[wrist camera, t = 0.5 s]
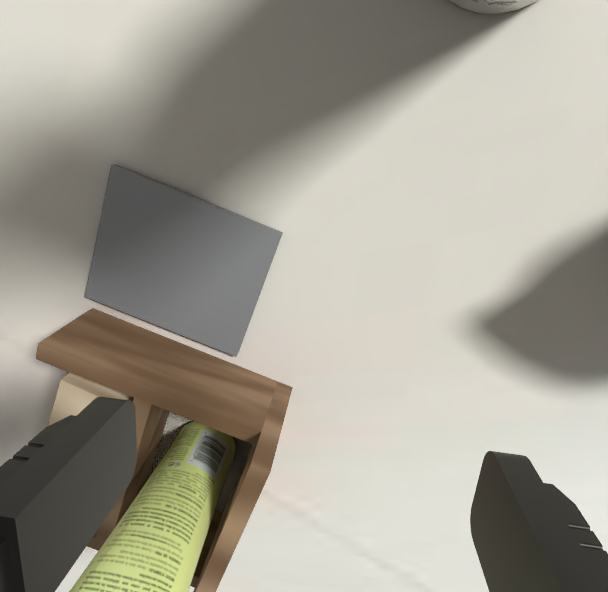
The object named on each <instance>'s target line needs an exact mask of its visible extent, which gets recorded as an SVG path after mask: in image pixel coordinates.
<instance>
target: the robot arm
mask: <svg viewBox="0 0 608 592" xmlns="http://www.w3.org/2000/svg"><path fill="white" fill-rule="evenodd" d="M450 1H451V2H453V3H455V4H456V5H458V6H460V7H462V8H464V9H467V10H471V11H474V12H478V13H493V14H500V13H504V12H509V11H514V10H518V9H521V8H523V7H525V6H528V5H530V4H532V3H534V2H537V1H538V0H450ZM136 462H137V440H136V411H135V405H134V403H133V402H132V401H130V400H123V399H115V398H108V397H101V396H100V397H97V398H95V399H94V400H93V401H92V402H91V403H90V404H89V405H88V406H86V407H85V408H84V409H83V410H82V411H81V412H80V413H79V414H78V415H77V416H74V415H70V416H68V417H66V418H64V419H62V420H60V421H58V422H56V423H54V424H52V425H50V426H48V427H46V428H45V429H44V430H43V431H41V432H40V433H39V434H38V435H37V436H36V437H34V438H33V439H32V440H31V441H30V442H29V444H28V446H24V447H23V448H22V449H21V450H19V451H18V452H17V453H16V454H15V455H14V456H13V459H9V460H8V461H7V462H5V463H4V464H3V465H2V466H1V467H0V592H55V590H56V589H57V588H58V586H59V585H60V583H61V582H62V580H63V579H64V578H65V576H66V575H67V573H68V572H69V570H70V569H71V567H72V566H73V565H74V563H75V562H76V560H77V559H78V557H79V556H80V555H81V553H82V552H83V550H84V549H85V547H86V546H87V544H88V543H89V542H90V540H91V539H92V537H93V536H94V534H95V533H96V531H97V530H98V529H99V527H100V526H101V524H102V523H103V521H104V520H105V519H106V517H107V516H108V514H109V513H110V511H111V510H112V508H113V507H114V506H115V504H116V503H117V501H118V500H119V498H120V497H121V496H122V494H123V493H124V491H125V490H126V488H127V487H128V485H129V484H130V482H131V480H132V477H133V475H134V471H135V468H136ZM470 523H471V533H472V538H473V542H474V545H475V548H476V551H477V554H478V557H479V560H480V563H481V567H482V570H483V573H484V576H485V579H486V582H487V585H488V588H489V592H608V554H607V552H606V551H603V549H602V544H601V543H600V541H599V540H598V538H597V537H596V535H595V534H594V532H593V531H590V526H589V525H588V523H587V522H586V520H585V519H584V517H583V515H582V514H581V512H580V511H579V509H578V508H577V506H576V505H575V504H574V503H573V502H572V501H571V500H570V499H569V498H567V497H566V496H565V495H564V494H563V493H562V492H561V491H560V490H559V489H557V488H556V487H555V486H554V485H553V484H546V483H543V482H542V480H541V478H540V477H539V475H538V473H537V472H536V470H535V468H534V467H533V465H532V463H531V462H530V460H529V459H528V458H527V457H526V456H522V455H515V454H508V453H500V452H493V451H488V452H487V453H486V455H485V457H484V460H483V463H482V467H481V471H480V475H479V479H478V483H477V487H476V491H475V495H474V499H473V503H472V508H471V517H470Z"/></svg>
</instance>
